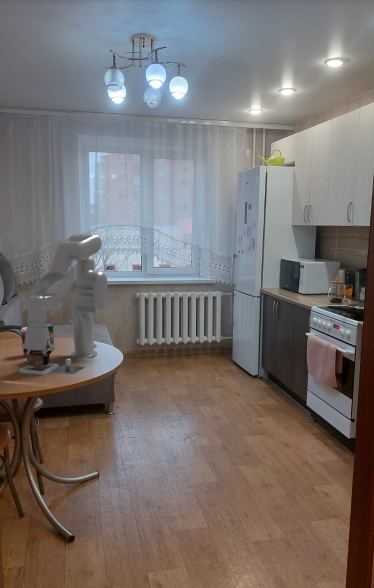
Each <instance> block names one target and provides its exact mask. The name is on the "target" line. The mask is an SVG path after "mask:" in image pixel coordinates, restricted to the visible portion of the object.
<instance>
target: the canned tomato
mask: <svg viewBox="0 0 374 588" xmlns="http://www.w3.org/2000/svg"><path fill="white" fill-rule="evenodd" d="M46 324H47V327H48V330H49V335H50V343H51V344H52V345H53V346H54V344H55V341H54V340H55V339H54V323H46Z"/></svg>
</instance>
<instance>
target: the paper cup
mask: <svg viewBox="0 0 374 588" xmlns="http://www.w3.org/2000/svg"><path fill="white" fill-rule="evenodd" d="M27 327H28V326H25V327H24V326H23V327H21V329H20V333H21V343H22V344H24V343H25V334H26V328H27ZM22 344H21V345H22ZM22 352H23V353H22V354H23V357H25V358H27V353H26V352H25V351H24V349H23V348H22Z"/></svg>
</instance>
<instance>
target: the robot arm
mask: <svg viewBox="0 0 374 588" xmlns="http://www.w3.org/2000/svg"><path fill="white" fill-rule="evenodd" d="M102 245H103V242H102V239H101V237H100V236H99V235H97V234H73V235H70V236H69V238H68V240H67V241H62V242H61V243H59V244H58V246H57V248H56V252H55V253H54V254H55V255H54V257H53V259H52V262H51V266H50V268H49V269H48V271H47V272H46V273H44V275H42V276H41V277H40V279H38V280H37V282H36V283H35V285H34V287H33V290H32V293H31V295H29V296H28V298H27V320H26V321H25V323H26V324H27V325H28V326H26V327H27V328H26V334H25V343H24V344H21V348H22V350H23V349H24V351H25V352H26V353H27V355H29V354H32V353H33V350H35V351H43V354H44V357H43V360H44V365H47V364H50V363H49V355H51V354H52V353H53V352H54V350H55V349H56V347H55V346H54V345H52V344H51V343H50V335H49V330H48V327H47V324H48V323H47V312H48V311H49V312H50V311H52V312H53V311H57V310H59V309H60V308H62V306H63V298H62V297H61V295H59V294H57V293H51V292H50V293H49V292H47V291H48V290H49V288H50V287H51V286H53V285H55V284H56V283H58V282H60V281H63V280H64V279H66V278H67V277H68V276H69V274H70V271H71V268H72V266H73V262H74V261H76V275H75V285H76V287H77V288H78V289H80V290H83V291H85V290H86V291H93V292H92V293H91V292H81V291H80V292H77V293H75V294H73V295H72V297H71V300H70V304H71V309H72V310H71V311H72V314H73V336H74V338H73V340H74V341H73V342H74V343H73V344H74V346H73V347H74V351H73V352H72V353H71V357H73V358H85V359H89V358H93V357H96V356H97V355H98V352H97V351H96V350H95V349H96V348H97V347H98V345H97V343H95V341H94V340H95V338H94V335H95V333H94V329H95V328H94V318H93V315H92V314H93V313H94V314H100V313H103V312H104V311H105V308H106V306H107V300H108V299H107V297H108V285H109V282H108V278H107V275H106V274H105V273H104V272H103V271H99V270H95V267H96V266H95V262H96V261H95V258H94V256H93V255H95V254H97V253H98V252H99V251H100V250H101V248H102ZM91 313H92V314H91Z"/></svg>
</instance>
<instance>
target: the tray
mask: <svg viewBox="0 0 374 588" xmlns="http://www.w3.org/2000/svg"><path fill="white" fill-rule="evenodd" d="M34 367H36V366H29V365H25V366H23V367H22V368H20V369H19V370H18V372H19V374H29V375H30V374H31V375H43V376H45V375H46V374H48V373H51V371H53V370H55V369H57V368H59V367H60V366H59V363H49V364H47V365H44V366H41V367H45V369H44V370H36V369H32V368H34Z"/></svg>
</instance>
